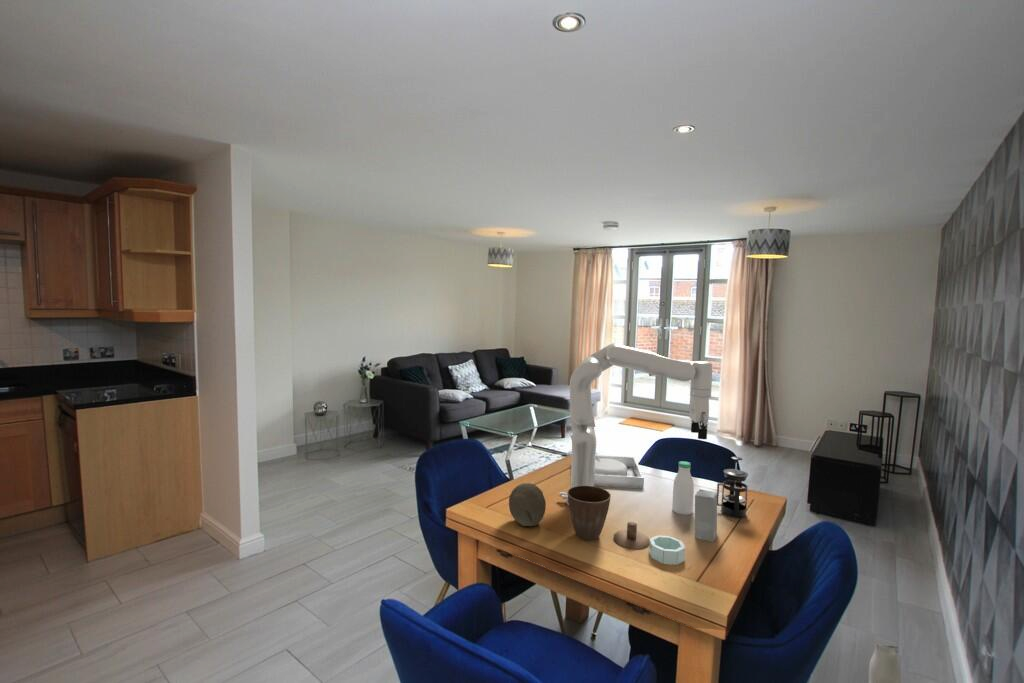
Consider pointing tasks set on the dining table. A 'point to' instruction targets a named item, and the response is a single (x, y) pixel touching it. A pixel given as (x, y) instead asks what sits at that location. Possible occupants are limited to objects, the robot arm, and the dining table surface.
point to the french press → (733, 493)
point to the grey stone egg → (527, 504)
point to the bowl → (667, 550)
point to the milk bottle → (683, 490)
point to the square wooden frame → (621, 480)
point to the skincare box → (706, 515)
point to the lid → (631, 537)
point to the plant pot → (588, 510)
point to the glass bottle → (884, 665)
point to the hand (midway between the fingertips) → (698, 435)
